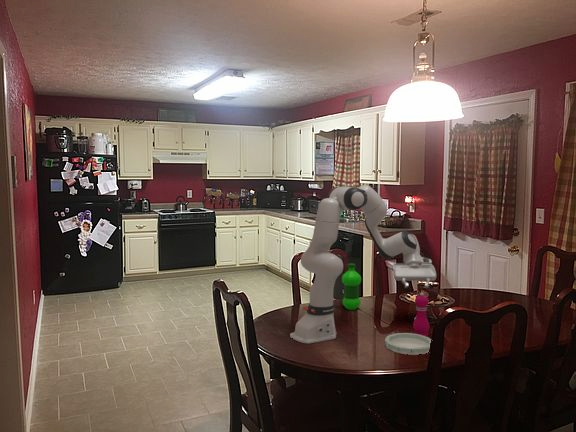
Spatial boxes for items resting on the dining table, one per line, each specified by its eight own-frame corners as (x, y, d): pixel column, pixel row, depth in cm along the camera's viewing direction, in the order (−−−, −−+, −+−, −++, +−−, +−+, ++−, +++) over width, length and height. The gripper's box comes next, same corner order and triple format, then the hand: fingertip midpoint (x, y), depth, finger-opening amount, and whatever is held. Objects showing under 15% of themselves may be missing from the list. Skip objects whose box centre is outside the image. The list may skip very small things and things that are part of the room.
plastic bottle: (349, 305, 276) (349, 261, 274) (364, 308, 269) (364, 264, 267) (338, 308, 269) (338, 264, 267) (353, 312, 262) (353, 266, 259)
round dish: (412, 358, 197) (412, 352, 197) (375, 344, 213) (375, 339, 213) (442, 347, 209) (442, 342, 209) (405, 335, 225) (405, 330, 225)
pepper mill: (420, 338, 220) (421, 295, 219) (409, 333, 227) (410, 291, 225) (432, 336, 224) (433, 293, 222) (421, 331, 230) (422, 290, 228)
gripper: (392, 259, 241) (395, 283, 232) (434, 259, 240) (439, 283, 231) (391, 266, 246) (394, 290, 237) (432, 266, 245) (436, 290, 236)
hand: (416, 287), depth 234 cm, fingers open, 8 cm apart
